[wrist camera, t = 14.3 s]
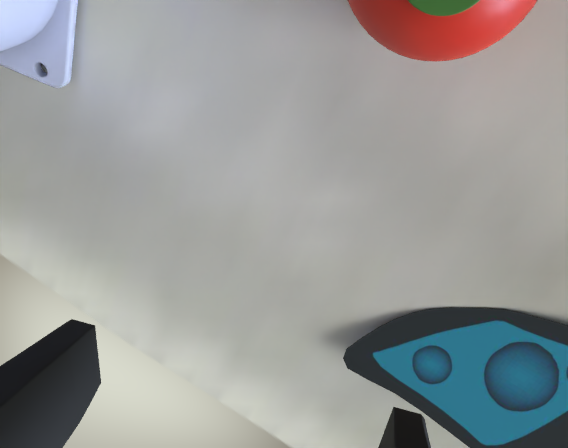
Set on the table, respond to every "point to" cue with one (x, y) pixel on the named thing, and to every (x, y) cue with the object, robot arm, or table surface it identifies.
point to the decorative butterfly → (475, 373)
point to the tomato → (439, 25)
